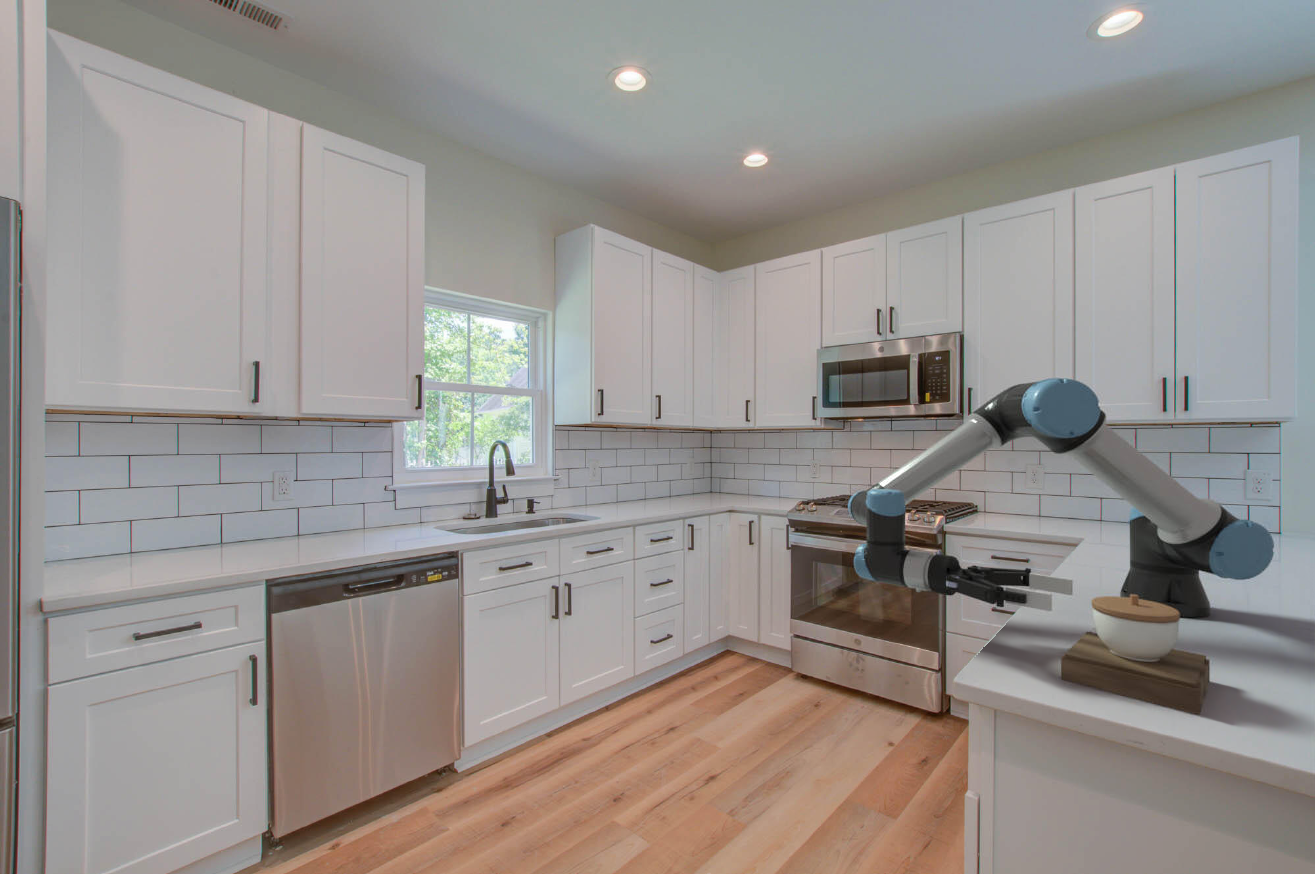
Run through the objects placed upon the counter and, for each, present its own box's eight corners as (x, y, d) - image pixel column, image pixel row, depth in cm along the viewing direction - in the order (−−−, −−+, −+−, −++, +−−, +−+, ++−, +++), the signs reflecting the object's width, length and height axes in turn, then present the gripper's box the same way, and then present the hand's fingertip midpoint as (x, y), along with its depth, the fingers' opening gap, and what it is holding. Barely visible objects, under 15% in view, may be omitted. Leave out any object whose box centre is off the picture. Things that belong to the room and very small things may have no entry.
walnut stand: (1084, 652, 102) (1084, 630, 102) (1209, 680, 90) (1209, 655, 90) (1061, 678, 91) (1061, 653, 91) (1199, 714, 80) (1199, 685, 80)
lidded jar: (1198, 670, 85) (1198, 606, 85) (1114, 665, 87) (1114, 602, 87) (1151, 644, 95) (1151, 587, 95) (1078, 640, 97) (1078, 584, 97)
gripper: (957, 580, 122) (1079, 601, 106) (905, 604, 105) (1041, 633, 90) (957, 545, 122) (1079, 561, 106) (905, 563, 105) (1041, 585, 90)
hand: (1062, 594), depth 98 cm, fingers open, 13 cm apart
